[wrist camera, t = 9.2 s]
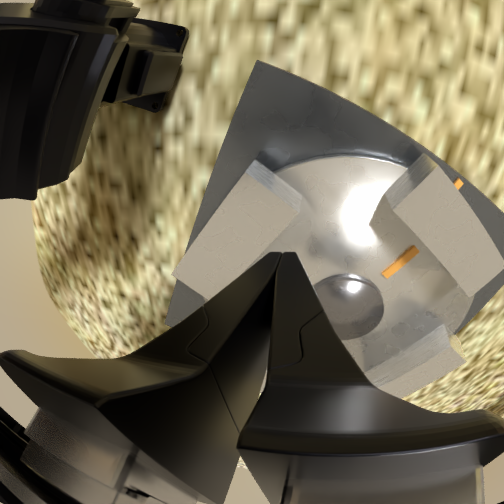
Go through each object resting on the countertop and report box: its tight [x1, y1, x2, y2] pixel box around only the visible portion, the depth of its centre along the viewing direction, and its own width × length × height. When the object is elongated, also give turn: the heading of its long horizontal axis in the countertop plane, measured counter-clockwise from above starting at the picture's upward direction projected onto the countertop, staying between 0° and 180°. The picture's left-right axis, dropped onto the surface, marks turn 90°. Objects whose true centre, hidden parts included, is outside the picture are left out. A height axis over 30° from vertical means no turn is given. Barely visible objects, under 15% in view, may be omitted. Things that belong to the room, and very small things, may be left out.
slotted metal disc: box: [171, 153, 504, 399], centre depth 21 cm, size 23×23×4 cm
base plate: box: [165, 60, 504, 335], centre depth 23 cm, size 25×25×2 cm
